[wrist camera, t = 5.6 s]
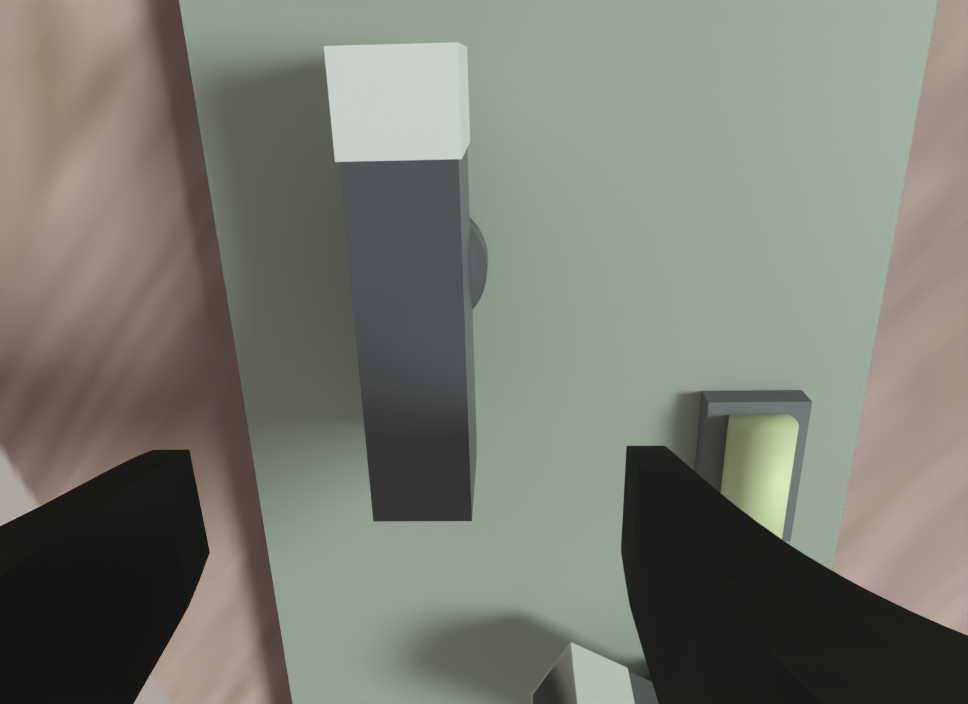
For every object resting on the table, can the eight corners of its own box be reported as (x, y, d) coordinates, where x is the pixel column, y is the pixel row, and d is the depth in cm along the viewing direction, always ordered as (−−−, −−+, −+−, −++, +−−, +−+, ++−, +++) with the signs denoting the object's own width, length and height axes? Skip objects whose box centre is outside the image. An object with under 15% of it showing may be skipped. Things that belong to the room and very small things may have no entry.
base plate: (768, 805, 23) (802, 901, 20) (323, 801, 23) (300, 894, 21) (917, -76, 14) (1013, -110, 11) (194, -53, 14) (126, -79, 12)
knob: (492, 430, 16) (488, 522, 13) (386, 431, 17) (356, 523, 13) (483, 47, 13) (475, 41, 10) (354, 50, 14) (306, 46, 10)
